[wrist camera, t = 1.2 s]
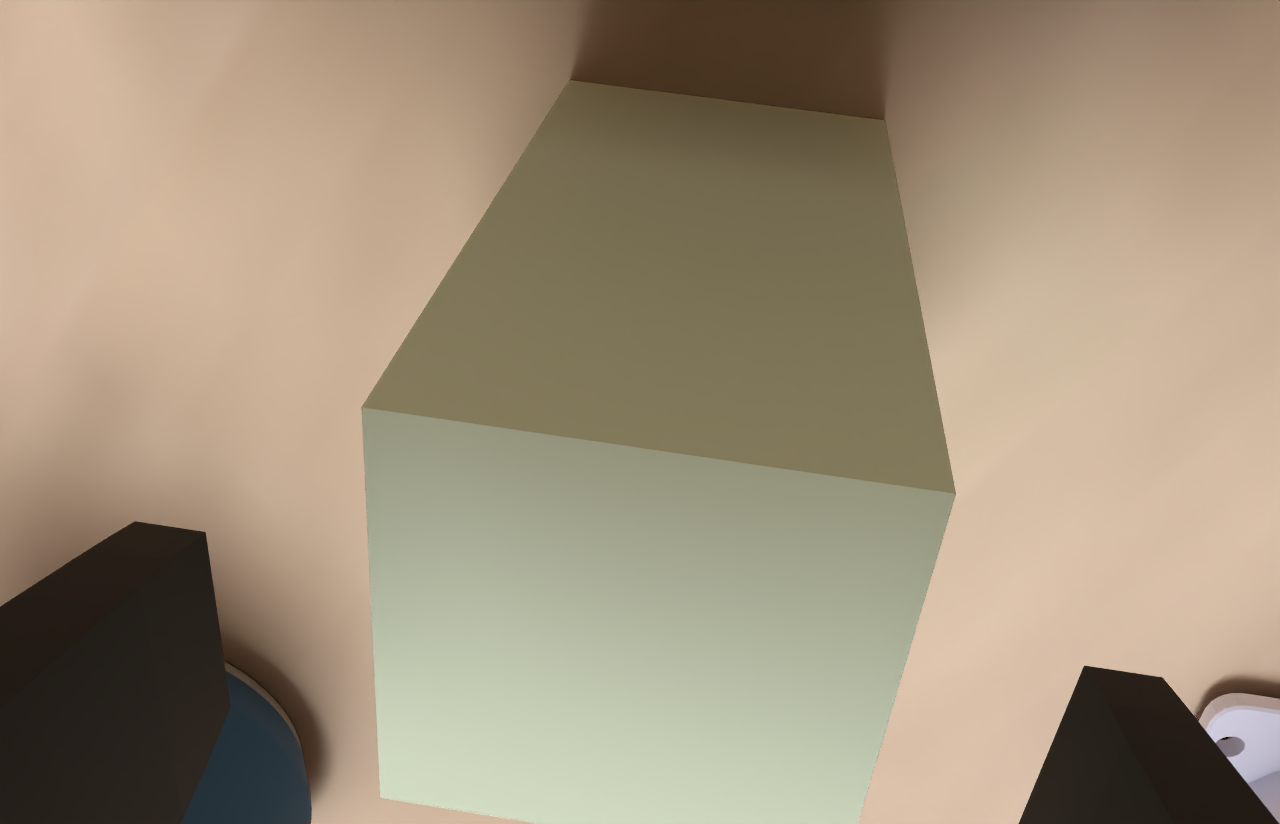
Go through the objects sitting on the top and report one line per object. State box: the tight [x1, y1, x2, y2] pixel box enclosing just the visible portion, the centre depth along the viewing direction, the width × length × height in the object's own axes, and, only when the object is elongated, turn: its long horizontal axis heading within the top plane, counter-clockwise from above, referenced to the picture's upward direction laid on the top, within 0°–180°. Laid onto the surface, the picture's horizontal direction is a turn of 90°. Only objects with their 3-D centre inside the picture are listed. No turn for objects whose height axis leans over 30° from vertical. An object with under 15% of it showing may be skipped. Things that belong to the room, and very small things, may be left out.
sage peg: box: [362, 80, 956, 824], centre depth 14 cm, size 4×4×9 cm
